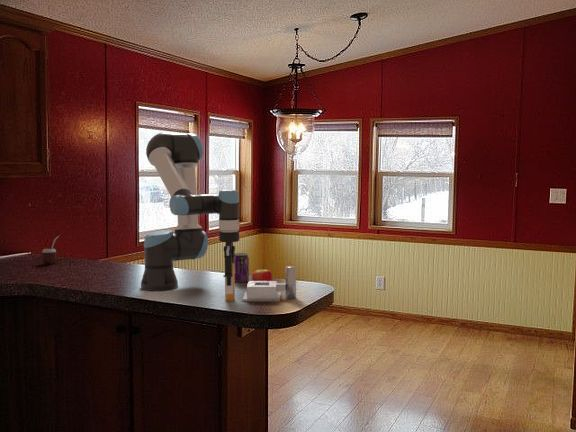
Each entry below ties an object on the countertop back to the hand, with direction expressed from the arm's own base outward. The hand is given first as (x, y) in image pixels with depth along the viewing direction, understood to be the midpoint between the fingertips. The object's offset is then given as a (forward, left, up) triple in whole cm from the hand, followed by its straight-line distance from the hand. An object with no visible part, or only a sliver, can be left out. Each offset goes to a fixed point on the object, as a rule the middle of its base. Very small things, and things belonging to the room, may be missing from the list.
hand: (229, 292), depth 227 cm
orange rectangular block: (0, 0, -3) cm, 3 cm away
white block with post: (+15, +4, -3) cm, 16 cm away
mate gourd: (-101, +82, -3) cm, 130 cm away
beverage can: (+1, +37, -3) cm, 37 cm away
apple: (+11, +23, -3) cm, 26 cm away
